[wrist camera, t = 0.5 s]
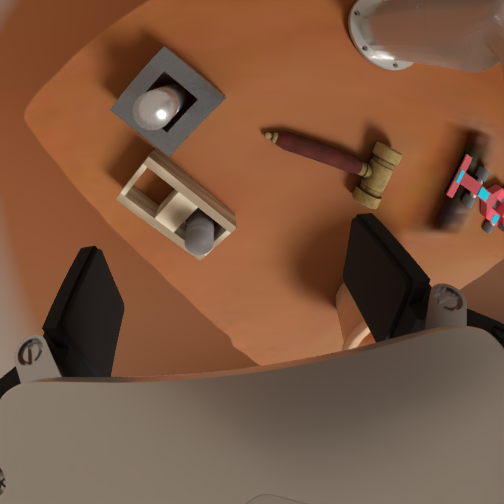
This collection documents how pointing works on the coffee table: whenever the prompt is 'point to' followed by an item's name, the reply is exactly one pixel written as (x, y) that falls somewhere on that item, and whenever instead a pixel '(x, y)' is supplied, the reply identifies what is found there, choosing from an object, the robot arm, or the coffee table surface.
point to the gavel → (347, 164)
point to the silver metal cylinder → (158, 106)
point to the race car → (480, 195)
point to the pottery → (351, 321)
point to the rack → (180, 208)
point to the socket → (185, 76)
